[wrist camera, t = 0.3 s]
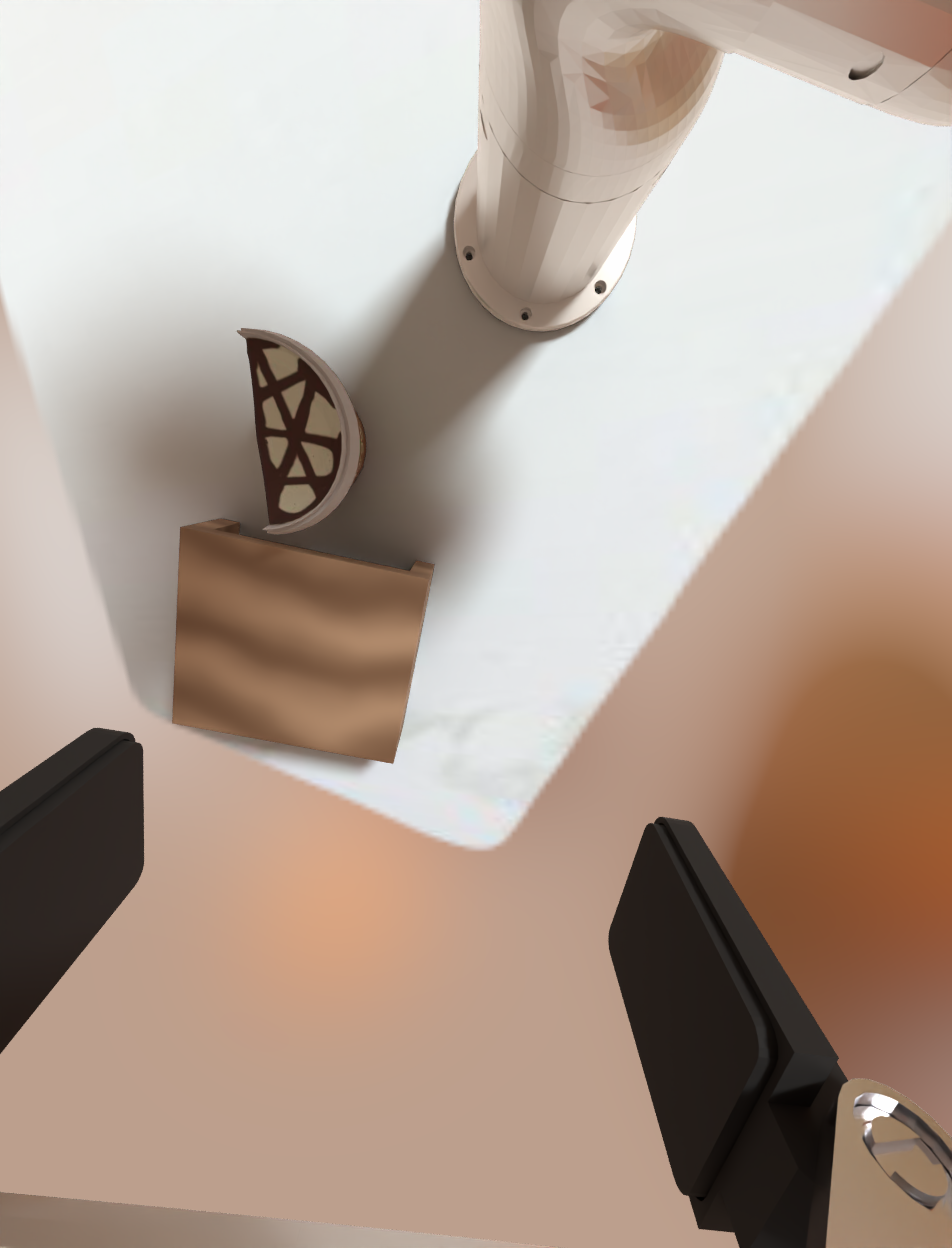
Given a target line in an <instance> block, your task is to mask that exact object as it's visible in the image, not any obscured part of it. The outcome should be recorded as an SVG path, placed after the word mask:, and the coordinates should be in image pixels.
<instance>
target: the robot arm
mask: <svg viewBox="0 0 952 1248" xmlns="http://www.w3.org/2000/svg"><path fill="white" fill-rule="evenodd" d="M725 53H727V54H731V53H736V54H739V55H741V56H744V57H746V58H749V59H751V60H754V61H756V62H759V63H761V64H763V65H766V66H768V67H771V68H773V69H776V70H778V71H781V72H783V73H786V74H788V75H790V76H793V77H795V78H798V79H800V80H803V81H805V82H808V83H810V84H812V85H815V86H817V87H820V88H822V89H825V90H827V91H830V92H832V93H835V94H837V95H839V96H842V97H844V98H847V99H849V100H852V101H854V102H857V103H859V104H864V105H868V106H870V107H873V108H875V109H878V110H880V111H883V112H885V113H888V114H891V115H893V116H897V117H900V118H903V119H907V120H910V121H914V122H917V123H920V124H925V125H932V126H952V0H480V53H479V100H478V149H477V151H476V152H475V154H474V155H473V157H472V158H471V160H470V161H469V163H468V166H467V168H466V170H465V173H464V175H463V177H462V179H461V182H460V186H459V190H458V194H457V198H456V202H455V213H454V239H455V246H456V252H457V258H458V261H459V264H460V267H461V270H462V273H463V276H464V278H465V280H466V282H467V284H468V286H469V287H470V289H471V291H472V293H473V294H474V295H475V297H476V298H477V299H478V300H479V302H480V303H481V304H482V306H483V307H485V308H486V309H487V310H488V311H489V312H490V313H491V314H493V315H494V316H495V317H496V318H498V319H500V320H501V321H503V322H505V323H507V324H509V325H510V326H514V327H517V328H520V329H523V330H528V331H540V332H543V331H551V330H558V329H561V328H564V327H567V326H570V325H573V324H575V323H576V322H578V321H580V320H581V319H583V318H585V317H586V316H588V315H589V314H591V313H592V312H593V311H594V310H595V309H596V308H597V307H598V306H600V305H601V304H602V303H603V302H604V300H605V299H606V298H607V297H608V296H609V294H610V293H611V292H612V290H613V289H614V287H615V286H616V284H617V283H618V281H619V280H620V278H621V277H622V274H623V272H624V270H625V268H626V265H627V263H628V261H629V259H630V255H631V251H632V247H633V243H634V240H635V231H636V222H637V213H638V211H639V210H640V208H641V207H642V205H643V204H644V202H645V201H646V199H647V197H648V196H649V194H650V193H651V191H652V190H653V188H654V187H655V185H656V184H657V182H658V181H659V179H660V178H661V176H662V175H663V173H664V172H665V170H666V169H667V167H668V166H669V164H670V163H671V161H672V159H673V158H674V156H675V155H676V153H677V152H678V150H679V148H680V147H681V145H682V144H683V142H684V141H685V139H686V138H687V136H688V135H689V133H690V132H691V130H692V128H693V127H694V125H695V123H696V122H697V120H698V118H699V116H700V115H701V113H702V111H703V109H704V107H705V105H706V103H707V101H708V99H709V96H710V94H711V92H712V90H713V87H714V84H715V81H716V78H717V75H718V73H719V70H720V67H721V64H722V61H723V58H724V54H725ZM468 254H470V255H472V257H473V258H472V260H467V259H466V256H467V255H468ZM595 288H599V289H600V290H601V293H600V294H597V293H596V292H595ZM522 314H527V315H528V319H527V320H523V319H522ZM143 803H144V802H143V748H142V746H141V744H140V743H137V742H135V738H134V736H133V735H132V734H131V733H128V732H121V731H115V730H109V729H103V728H93V729H91V730H89V731H87V732H86V733H84V734H83V735H81V736H80V737H78V738H77V739H76V740H74V741H73V742H71V743H70V744H68V745H67V746H65V747H64V748H62V749H61V750H60V751H58V752H57V753H55V754H54V755H52V756H51V757H49V758H48V759H47V760H45V761H44V762H42V763H41V764H39V765H38V766H36V767H35V768H34V769H32V770H31V771H29V772H28V773H26V774H25V775H23V776H22V777H20V778H19V779H18V780H16V781H15V782H13V783H12V784H10V785H9V786H8V787H6V788H5V789H3V790H2V791H0V1054H1V1052H2V1051H3V1050H4V1049H5V1047H6V1046H7V1045H8V1044H9V1042H10V1041H11V1040H12V1039H13V1037H14V1036H15V1035H16V1034H17V1032H18V1031H19V1030H20V1029H21V1027H22V1026H23V1024H25V1022H26V1021H27V1020H28V1019H29V1017H30V1016H31V1015H32V1014H33V1012H34V1011H35V1010H36V1009H37V1007H38V1006H39V1005H40V1004H41V1002H42V1001H43V1000H44V999H45V997H46V996H47V995H48V994H49V992H50V991H51V990H52V989H53V987H54V986H55V985H56V984H57V982H58V981H59V980H60V979H61V977H62V976H63V975H64V974H65V972H66V971H67V970H68V969H69V967H70V966H71V965H72V964H73V962H74V961H75V960H76V959H77V957H78V956H79V955H80V954H81V952H82V951H83V950H84V949H85V947H86V946H87V945H88V944H89V942H90V941H91V940H92V939H93V937H94V936H95V935H96V934H97V933H98V931H99V930H100V929H101V928H102V926H103V925H104V924H105V923H106V921H107V920H108V919H109V918H110V916H111V915H112V914H113V913H114V911H115V910H116V909H117V908H118V906H119V905H120V904H121V903H122V901H123V900H124V899H125V898H126V896H127V895H128V894H129V893H130V891H131V890H132V889H133V888H134V886H135V885H136V883H137V882H138V880H139V877H140V875H141V873H142V870H143V866H144V809H143V808H144V807H143V806H144V804H143ZM609 950H610V955H611V958H612V962H613V965H614V969H615V972H616V976H617V979H618V983H619V986H620V990H621V993H622V997H623V1000H624V1004H625V1007H626V1011H627V1014H628V1018H629V1021H630V1025H631V1028H632V1032H633V1035H634V1039H635V1042H636V1046H637V1050H638V1053H639V1057H640V1060H641V1064H642V1067H643V1071H644V1074H645V1078H646V1081H647V1085H648V1088H649V1092H650V1095H651V1099H652V1102H653V1106H654V1109H655V1113H656V1116H657V1120H658V1123H659V1127H660V1130H661V1134H662V1137H663V1141H664V1144H665V1147H666V1151H667V1155H668V1158H669V1162H670V1165H671V1168H672V1172H673V1176H674V1178H675V1182H676V1184H677V1186H678V1188H679V1190H680V1191H681V1192H682V1194H683V1195H688V1196H689V1198H690V1202H691V1205H692V1208H693V1212H694V1215H695V1218H696V1221H697V1225H698V1228H699V1229H706V1230H715V1231H726V1232H734V1233H735V1235H736V1239H737V1241H738V1244H739V1247H740V1248H952V1137H951V1136H950V1135H948V1133H947V1132H946V1131H945V1130H944V1129H943V1128H942V1127H941V1126H940V1125H939V1124H938V1123H937V1122H936V1121H935V1120H934V1119H933V1118H932V1117H931V1116H930V1115H929V1114H927V1113H926V1112H925V1111H923V1110H922V1109H921V1108H919V1107H918V1106H917V1105H916V1104H915V1103H913V1102H912V1101H911V1100H910V1099H908V1098H907V1097H905V1096H903V1095H902V1094H900V1093H898V1092H897V1091H895V1090H893V1089H892V1088H890V1087H888V1086H886V1085H884V1084H881V1083H877V1082H875V1081H872V1080H869V1079H852V1080H850V1081H848V1080H847V1078H846V1077H845V1075H844V1073H843V1072H842V1070H841V1068H840V1067H839V1065H838V1063H837V1060H838V1059H839V1058H838V1056H837V1054H836V1053H835V1051H834V1050H833V1048H832V1046H831V1045H830V1043H829V1042H828V1040H827V1038H826V1037H825V1035H824V1033H823V1032H822V1030H821V1029H820V1027H819V1026H818V1024H817V1022H816V1021H815V1019H814V1017H813V1016H812V1014H811V1012H810V1011H809V1009H808V1008H807V1006H806V1005H805V1003H804V1001H803V1000H802V998H801V996H800V995H799V993H798V992H797V990H796V988H795V987H794V985H793V983H792V982H791V981H790V979H789V977H788V975H787V974H786V972H785V971H784V969H783V967H782V966H781V964H780V963H779V961H778V959H777V958H776V956H775V955H774V953H773V951H772V950H771V948H770V946H769V945H768V943H767V942H766V940H765V938H764V937H763V935H762V934H761V932H760V930H759V929H758V927H757V925H756V924H755V922H754V921H753V919H752V917H751V916H750V914H749V913H748V911H747V910H746V908H745V906H744V904H743V903H742V901H741V900H740V898H739V896H738V895H737V893H736V892H735V890H734V888H733V887H732V885H731V884H730V882H729V880H728V879H727V877H726V875H725V874H724V872H723V871H722V869H721V868H720V866H719V864H718V863H717V861H716V859H715V858H714V856H713V855H712V853H711V851H710V850H709V848H708V846H707V845H706V843H705V842H704V840H703V838H702V837H701V835H700V834H699V832H698V830H697V829H696V827H695V826H694V825H693V824H692V823H691V822H689V821H685V820H678V819H672V818H665V817H659V818H657V819H656V821H655V823H654V824H653V823H650V824H648V825H647V826H646V828H645V830H644V833H643V836H642V838H641V841H640V844H639V847H638V850H637V853H636V855H635V858H634V861H633V864H632V867H631V870H630V873H629V875H628V879H627V881H626V884H625V887H624V890H623V893H622V895H621V898H620V901H619V904H618V907H617V910H616V913H615V915H614V918H613V921H612V924H611V927H610V930H609ZM0 1248H561V1247H551V1246H542V1245H532V1244H523V1243H514V1242H503V1241H495V1240H484V1239H475V1238H466V1237H456V1236H446V1235H438V1234H428V1233H417V1232H408V1231H398V1230H387V1229H378V1228H368V1227H358V1226H347V1225H338V1224H328V1223H318V1222H308V1221H298V1220H288V1219H278V1218H267V1217H257V1216H247V1215H237V1214H227V1213H216V1212H206V1211H196V1210H185V1209H175V1208H165V1207H155V1206H144V1205H133V1204H122V1203H111V1202H101V1201H89V1200H77V1199H68V1198H57V1197H46V1196H36V1195H25V1194H14V1193H3V1192H0Z"/></svg>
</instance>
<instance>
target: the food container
mask: <svg viewBox="0 0 952 1248" xmlns="http://www.w3.org/2000/svg"><path fill="white" fill-rule="evenodd" d="M237 332H238V333H239V334H240V335H241V336H242V337H244V338H245V339H246V343H247V354H248V357H249V363H250V369H251V378H252V387H253V397H254V409H255V424H256V436H257V442H258V448H259V453H260V459H261V465H262V471H263V477H264V484H265V492H266V499H267V507H268V515H269V523H270V525H268V526H267V527H265V528H263V530H267V533H270V534H275V535H276V534H287V533H292V532H296V531H300V530H303V529H306V528H308V527H310V526H313V525H315V524H317V523H318V522H320V521H321V520H323V519H324V518H326V517H327V516H328V515H329V514H330V513H331V512H332V511H334V510H335V509H336V508H337V507H338V505H339V504H340V503H341V501H342V500H343V499H344V497H345V496H346V494H347V492H348V491H349V489H350V487H351V485H352V484H353V483H354V482H355V480H356V479H357V477H358V475H359V473H360V471H361V470H362V468H363V464H364V460H365V455H366V438H365V432H364V429H363V425H362V422H361V420H360V418H359V416H358V414H357V412H356V411H355V409H354V408H353V405H352V403H351V400H350V398H349V396H348V394H347V392H346V389H345V388H344V386H343V385H342V383H341V382H340V380H339V379H338V377H337V376H336V374H335V373H334V372H333V371H332V370H331V368H330V367H329V366H328V365H327V364H326V363H325V362H324V361H323V360H322V359H321V358H320V357H319V356H317V355H316V354H315V353H314V352H313V351H312V350H310V349H309V348H307V347H305V346H304V345H302V344H301V343H299V342H297V341H295V340H293V339H291V338H289V337H286V336H284V335H282V334H278V333H274V332H270V331H266V330H257V329H246V328H241V331H238V330H237Z"/></svg>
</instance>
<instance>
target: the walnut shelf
mask: <svg viewBox="0 0 952 1248" xmlns="http://www.w3.org/2000/svg"><path fill="white" fill-rule="evenodd" d="M239 531H240V522H235V521H230V520H226V519H221V518H220V519H216V520H211V521H206V522H202V523H197V524H192V525H188V526H183V527H180V547H179V572H178V597H177V621H176V646H175V671H174V695H173V720H172V723H174V724H179V725H185V726H190V727H195V728H201V729H206V730H212V731H217V732H223V733H228V734H234V735H239V736H245V737H250V738H256V739H261V740H266V741H272V742H277V743H283V744H288V745H294V746H299V747H305V748H310V749H316V750H321V751H326V752H332V753H337V754H343V755H348V756H354V757H359V758H365V759H370V760H376V761H381V762H386V763H392V764H393V762H394V759H395V755H396V751H397V747H398V743H399V740H400V736H401V732H402V728H403V723H404V718H405V713H406V708H407V703H408V698H409V693H410V688H411V682H412V677H413V672H414V667H415V662H416V657H417V652H418V647H419V642H420V637H421V631H422V626H423V621H424V616H425V611H426V606H427V601H428V596H429V591H430V586H431V580H432V575H433V570H434V565H435V564H432V563H427V562H422V561H417V560H416V561H415V563H414V565H413V567H412V568H411V570H410V571H408V570H403V569H398V568H394V567H389V566H384V565H379V564H375V563H370V562H365V561H361V560H356V559H351V558H346V557H342V556H337V555H332V554H328V553H323V552H318V551H313V550H309V549H304V548H299V547H295V546H290V545H285V544H280V543H276V542H271V541H266V540H261V539H257V538H252V537H247V536H243V535H239Z"/></svg>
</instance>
